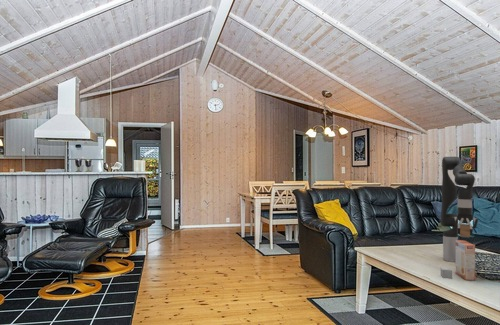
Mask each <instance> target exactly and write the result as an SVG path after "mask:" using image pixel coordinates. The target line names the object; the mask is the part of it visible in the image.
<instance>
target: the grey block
mask: <svg viewBox="0 0 500 325" xmlns="http://www.w3.org/2000/svg"><path fill="white" fill-rule="evenodd" d="M440 277H441V278H443V279H449V280H450V279H453V269H452V268H450V267H440Z"/></svg>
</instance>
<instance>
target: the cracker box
mask: <svg viewBox="0 0 500 325" xmlns="http://www.w3.org/2000/svg"><path fill="white" fill-rule="evenodd" d="M455 274H456V275H458V276H459V277H460V278H462V279H463V280H465V281H476V245H475V244H473V243H471V242H469V241H467V240H460V239H458V240H456V262H455Z"/></svg>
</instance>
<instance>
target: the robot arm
mask: <svg viewBox="0 0 500 325" xmlns="http://www.w3.org/2000/svg"><path fill="white" fill-rule="evenodd" d="M441 167H442V168H441V172H442V174H441V175H442V184H441V185H442V186H441V210H440V211H441V213H440V224H441V226H442V227H450V229H448V230H444V231H443V232H442V260H443V261H446V262H451V263H456V240H459V236H460V225H461V224H468V225H470V236H472V235H473V230H474V229H477V226H478V222H479V218H477V217H476V218H475V217H473V203H472V192H473V186H474V184H475V181H476V178H475V176H474V175H473V174H472V173H468V172H467V171H466V169H465V168H464V166H463V162H462V160H461V158H460V157H459V156H443V157H442V160H441ZM449 171H452V175H453V177H454V181H453V180H452V178H451V177H450V175H449ZM457 186H466V187H465V188H462V189H458V187H457ZM456 199H457V204H456V205H457V213H448V209H449V208H450V207H451V206H452V205H453V203H454V202H455V201H456ZM472 221H473V222H474V223H473V226H472V223H471V222H472Z"/></svg>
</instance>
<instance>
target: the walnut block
mask: <svg viewBox="0 0 500 325" xmlns="http://www.w3.org/2000/svg"><path fill="white" fill-rule="evenodd" d="M459 237H462V238H463V237H464V238H471V235H470V225H468V224H466V223H462V224H461V225H460V235H459Z"/></svg>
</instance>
